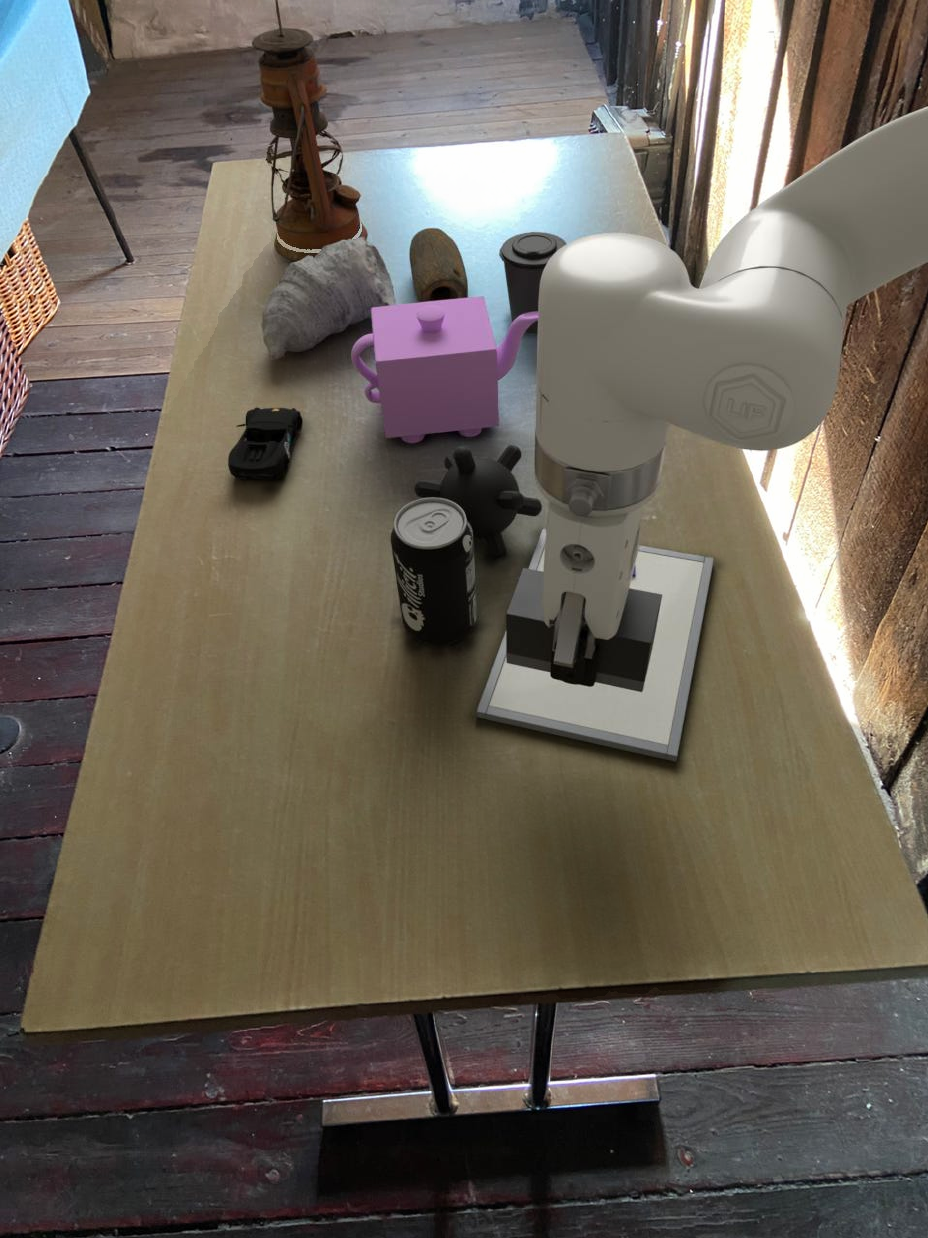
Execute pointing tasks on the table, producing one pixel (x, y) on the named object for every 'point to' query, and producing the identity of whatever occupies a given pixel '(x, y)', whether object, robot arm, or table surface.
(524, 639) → the whiteboard eraser
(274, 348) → the seashell
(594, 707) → the whiteboard
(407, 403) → the teapot
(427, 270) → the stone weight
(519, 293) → the coffee cup
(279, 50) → the lantern
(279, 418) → the toy car
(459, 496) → the toy ball
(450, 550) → the beverage can
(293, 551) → the table surface
